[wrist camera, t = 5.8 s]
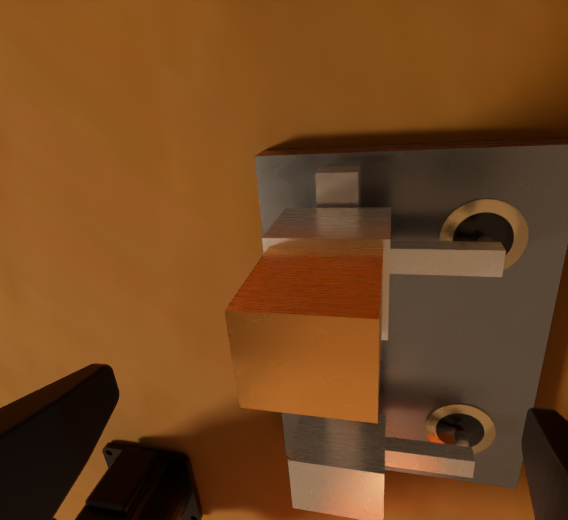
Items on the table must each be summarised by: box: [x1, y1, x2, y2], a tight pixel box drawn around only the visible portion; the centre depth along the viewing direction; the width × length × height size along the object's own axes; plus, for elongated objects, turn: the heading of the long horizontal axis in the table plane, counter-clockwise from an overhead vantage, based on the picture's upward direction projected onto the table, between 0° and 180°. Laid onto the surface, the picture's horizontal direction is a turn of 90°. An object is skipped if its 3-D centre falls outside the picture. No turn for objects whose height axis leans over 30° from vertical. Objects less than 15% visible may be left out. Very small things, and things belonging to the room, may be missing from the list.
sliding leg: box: [225, 207, 506, 424], centre depth 13 cm, size 4×8×8 cm, turn 95°
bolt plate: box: [255, 137, 568, 520], centre depth 18 cm, size 17×12×6 cm
